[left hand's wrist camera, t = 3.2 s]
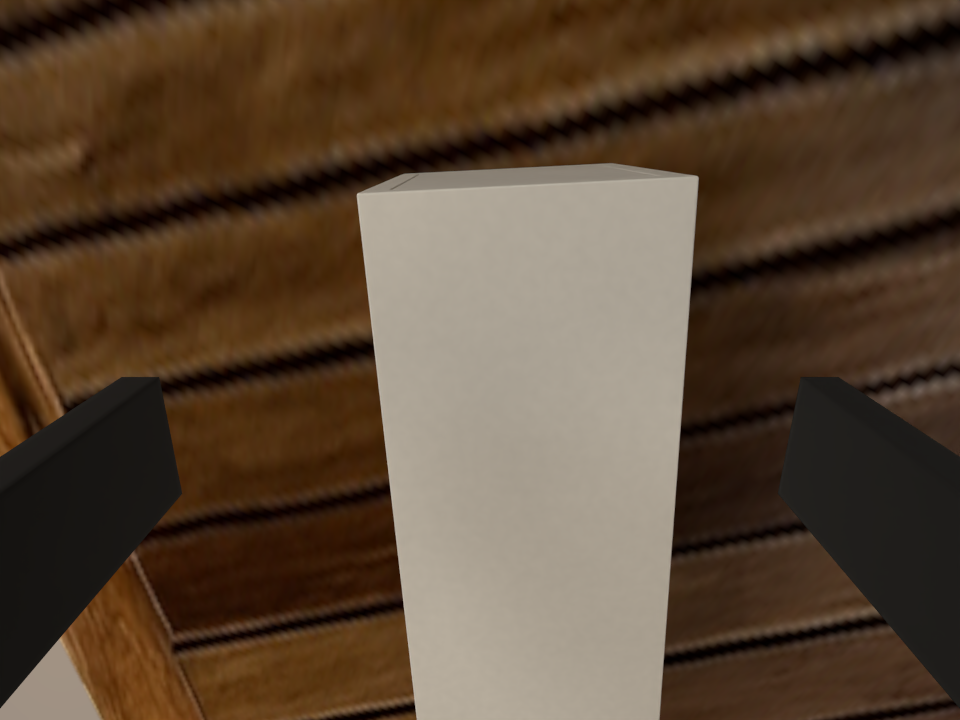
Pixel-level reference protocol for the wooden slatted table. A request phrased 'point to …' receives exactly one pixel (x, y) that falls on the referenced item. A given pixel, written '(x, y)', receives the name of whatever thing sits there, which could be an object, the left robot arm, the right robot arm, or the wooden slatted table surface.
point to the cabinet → (532, 429)
